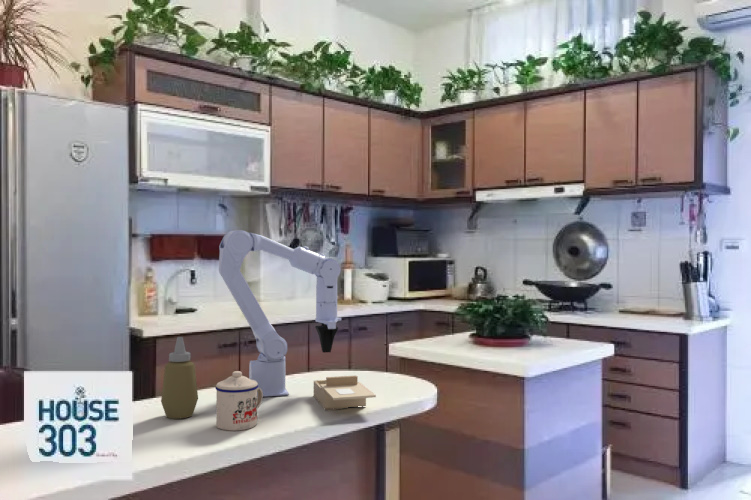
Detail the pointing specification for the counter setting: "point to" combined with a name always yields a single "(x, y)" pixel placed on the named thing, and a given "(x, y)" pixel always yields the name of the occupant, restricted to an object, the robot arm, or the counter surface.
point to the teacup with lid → (237, 402)
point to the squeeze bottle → (179, 384)
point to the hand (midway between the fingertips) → (326, 352)
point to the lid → (346, 388)
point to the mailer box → (334, 404)
